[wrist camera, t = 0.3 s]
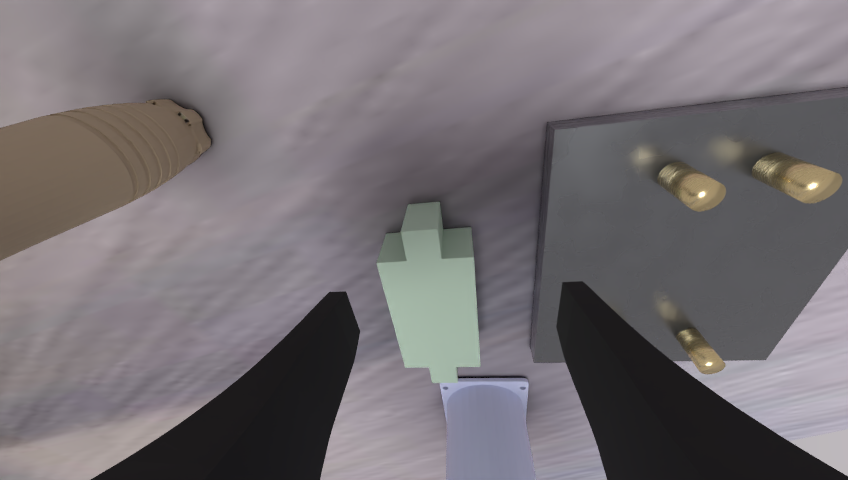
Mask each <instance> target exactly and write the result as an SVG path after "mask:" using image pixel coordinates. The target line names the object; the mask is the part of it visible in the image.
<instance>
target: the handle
mask: <svg viewBox="0 0 848 480" xmlns="http://www.w3.org/2000/svg"><path fill="white" fill-rule="evenodd" d="M202 121H203V120H202V118H201V117H200V116H199V114H198V113H196V112H195V111H194V110H192V109H184V108H182V107H180V106H178V105H177V104H175V103H174V102H173V101H171V100H169V99H158V100H149V101H146V103H123V104H112V105H102V106H94V107H86V108H82V109H75V110H70V111H66V112H60V113H56V114H51V115H47V116H42V117H38V118H34V119H31V120H27V121H24V122H20V123H17V124H13V125H9V126H6V127H2V128H0V260H3V259H5V258H7V257H9V256H11V255H14V254H16V253H18V252H20V251H22V250H24V249H27V248H29V247H31V246H33V245H35V244H38V243H40V242H42V241H44V240H47V239H49V238H51V237H54V236H56V235H58V234H60V233H63V232H65V231H67V230H70V229H72V228H74V227H76V226H79V225H81V224H83V223H86V222H88V221H90V220H92V219H95V218H97V217H99V216H102V215H104V214H106V213H108V212H111V211H113V210H115V209H118V208H120V207H122V206H124V205H126V204H128V203H130V202H132V201H134V200H136V199H138V198H139V197H142V196H144V195H146V194H148V193H149V192H151V191H153V190H155V189H156V188H158V187H159V186H161V185H162V184H164V183H165V182H167V181H168V180H170V179H171V178H173V177H174V176H175V175H177V174H178V173H179V172H181V171H182V170H183V169H184V168H185V167H186V166H187V165H190V164H191V163H193V162H194V161H196V160H197V159H198V158H199V157H200V155H201V153H203V152H205V151H206V150H207V149H208V148H210V145H211V139H210V138H209V137H208V135H207V134H206V132H205V130H204V127H203V123H202Z"/></svg>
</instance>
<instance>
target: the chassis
mask: <svg viewBox="0 0 848 480" xmlns="http://www.w3.org/2000/svg"><path fill="white" fill-rule="evenodd" d="M847 249H848V87H846V88H837V89H829V90H820V91H811V92H803V93H794V94H786V95H777V96H769V97H760V98H751V99H743V100H734V101H726V102H717V103H709V104H700V105H692V106H683V107H674V108H666V109H657V110H649V111H640V112H632V113H623V114H615V115H606V116H597V117H589V118H580V119H572V120H563V121H555V122H547V131H546V144H545V157H544V170H543V183H542V196H541V209H540V222H539V236H538V249H537V262H536V275H535V288H534V301H533V314H532V327H531V340H530V349H531V353H532V357H533V362H534V363H558V362H566V361H565V359H564V355H563V352H562V348H561V344H560V340H559V336H558V332H557V328H556V325H557V317H558V310H559V303H560V296H561V289H562V282H576V281H583V282H584V283H585V284H587V285H588V286H589V287H590V288H591V289H592V290H593V291H594V292H595V293H596V294H597V295H598V296H599V297H600V298H601V299H602V300H603V301H604V302H605V303H606V304H608V305H609V306H610V307H611V308H612V309H613V310H614V311H615V312H616V313H617V314H618V315H619V316H620V317H621V318H623V319H624V320H625V321H626V322H627V323H628V324H629V325H630V326H631V327H633V328H634V329H635V330H636V331H637V332H638V333H639V334H641V335H642V336H643V337H644V338H645V339H646V340H647V341H649V342H650V343H651V344H652V345H653V346H654V347H656V348H657V349H658V350H659V351H661V352H662V353H663V354H664V355H666V356H667V357H668V358H669V359H670V360H672V361H693V363H694V364H695V365H696V367H697V368H698V370H699V371H700V372H701V373H703V374H713V373H717V372H719V371H721V370H723V369H724V368H725V363H724V362H723V361H726V360H766V359H767V357H768V356H769V355H770V353H771V352H772V351H773V349H774V348H775V346H776V345H777V344H778V342H779V341H780V340H781V338H782V337H783V336H784V334H785V333H786V332H787V330H788V329H789V328H790V326H791V325H792V323H793V322H794V321H795V319H796V318H797V317H798V315H799V314H800V313H801V311H802V310H803V309H804V307H805V306H806V305H807V303H808V302H809V300H810V299H811V298H812V296H813V295H814V294H815V292H816V291H817V290H818V288H819V287H820V286H821V284H822V283H823V282H824V280H825V279H826V278H827V276H828V275H829V273H830V272H831V271H832V269H833V268H834V267H835V265H836V264H837V263H838V261H839V260H840V259H841V257H842V256H843V255H844V253H845V252H846V250H847Z"/></svg>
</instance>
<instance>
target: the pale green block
mask: <svg viewBox="0 0 848 480" xmlns="http://www.w3.org/2000/svg"><path fill="white" fill-rule="evenodd" d="M377 267H378V271H379V274H380V278H381V281H382V285H383V289H384V292H385V296H386V300H387V303H388V307H389V310H390V314H391V318H392V321H393V325H394V329H395V332H396V336H397V339H398V343H399V347H400V350H401V354H402V357H403V361H404V365H405V368H422V367H429V370H430V375H431V380H432V383H458V367H480V350H479V334H478V317H477V300H476V284H475V267H474V253H473V242H472V231H471V227H467V228H453V229H443V223H442V215H441V207H440V202H429V203H418V204H408V206H407V210H406V214H405V217H404V221H403V225H402V229H401V232H399V233H386V236H385V239H384V242H383V245H382V248H381V251H380V254H379V257H378V260H377Z"/></svg>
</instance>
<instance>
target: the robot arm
mask: <svg viewBox="0 0 848 480" xmlns="http://www.w3.org/2000/svg"><path fill="white" fill-rule="evenodd" d="M556 328H557V332H558V336H559V340H560V344H561V348H562V352H563V355H564V359H565V361H566V364H567V366H568V369H569V372H570V374H571V377H572V380H573V382H574V385H575V387H576V390H577V392H578V395H579V398H580V400H581V403H582V405H583V408H584V410H585V413H586V416H587V418H588V421H589V423H590V426H591V428H592V431H593V434H594V437H595V440H596V443H597V446H598V449H599V453H600V456H601V459H602V463H603V466H604V470H605V473H606V477H607V480H848V476H846V475H844V474H843V473H841V472H839V471H837V470H836V469H834V468H832V467H831V466H829V465H827V464H825V463H824V462H822V461H820V460H819V459H817V458H815V457H814V456H812V455H810V454H809V453H807V452H805V451H804V450H802V449H800V448H799V447H797V446H795V445H794V444H792V443H791V442H789V441H787V440H786V439H784V438H783V437H781V436H779V435H778V434H776V433H775V432H773V431H772V430H770V429H769V428H767V427H766V426H764V425H762V424H761V423H759V422H758V421H756V420H755V419H753V418H752V417H750V416H749V415H747V414H745V413H744V412H742V411H741V410H739V409H738V408H736V407H735V406H733V405H732V404H731V403H729V402H728V401H726V400H725V399H723V398H722V397H720V396H719V395H718V394H716V393H715V392H713V391H712V390H711V389H709V388H708V387H706V386H705V385H704V384H702V383H701V382H699V381H698V380H697V379H695V378H694V377H693V376H691V375H690V374H688V373H687V372H686V371H685V370H683V369H682V368H681V367H679V366H678V365H677V364H675V363H674V362H673V361H672V360H670V359H669V358H668V357H667V356H666V355H664V354H663V353H662V352H661V351H659V350H658V349H657V348H656V347H654V346H653V345H652V344H651V343H650V342H649V341H647V340H646V339H645V338H644V337H643V336H642V335H641V334H639V333H638V332H637V331H636V330H635V329H634V328H633V327H631V326H630V325H629V324H628V323H627V322H626V321H625V320H624V319H623V318H621V317H620V316H619V315H618V314H617V313H616V312H615V311H614V310H613V309H612V308H611V307H610V306H609V305H608V304H606V303H605V302H604V301H603V300H602V299H601V298H600V297H599V296H598V295H597V294H596V293H595V292H594V291H593V290H592V289H591V288H590V287H589V286H588V285H587V284H585V283H584V282H583V281H576V282H562V289H561V296H560V303H559V310H558V317H557V325H556ZM359 334H360V330H359V327H358V324H357V322H356V319H355V316H354V313H353V310H352V307H351V305H350V302H349V299H348V296H347V293H346V292H329V293H328V294H327V295H326V296H325V297H324V298H323V299H322V300H321V301H320V302H319V303H318V304H317V305H316V306H315V307H314V308H313V309H312V310H311V311H310V312H309V313H308V314H307V315H306V316H305V318H304V319H303V320H302V321H301V322H300V323H299V324H298V325H297V326H296V327H295V328H294V329H293V330H292V331H291V332H290V333H289V334H288V335H287V336H286V337H285V338H284V339H283V340H282V341H281V342H279V343H278V344H277V345H276V346H275V347H274V348H273V349H272V350H271V351H270V352H269V353H268V354H267V355H266V356H264V357H263V358H262V359H261V360H260V361H259V362H258V363H257V364H256V365H255V366H254V367H252V368H251V369H250V370H249V371H248V372H247V373H245V374H244V375H243V376H242V377H241V378H239V379H238V380H237V381H236V382H234V383H233V384H232V385H231V386H230V387H228V388H227V389H226V390H225V391H223V392H222V393H221V394H219V395H218V396H217V397H216V398H214V399H213V400H211V401H210V402H209V403H207V404H206V405H205V406H203V407H202V408H201V409H199V410H198V411H196V412H195V413H194V414H192V415H191V416H190V417H188V418H187V419H186V420H184V421H183V422H181V423H180V424H178V425H177V426H176V427H174V428H173V429H171V430H170V431H168V432H167V433H165V434H164V435H162V436H161V437H159V438H158V439H156V440H155V441H153V442H151V443H150V444H148V445H147V446H145V447H144V448H142V449H141V450H139V451H137V452H136V453H134V454H133V455H131V456H129V457H128V458H126V459H125V460H123V461H121V462H120V463H118V464H116V465H115V466H113V467H111V468H110V469H108V470H106V471H105V472H103V473H101V474H99V475H98V476H96V477H94V478H93V479H91V480H320V477H321V472H322V468H323V463H324V459H325V455H326V450H327V446H328V442H329V438H330V434H331V431H332V427H333V424H334V421H335V418H336V415H337V412H338V409H339V406H340V403H341V400H342V397H343V394H344V391H345V388H346V385H347V382H348V378H349V375H350V372H351V369H352V366H353V363H354V360H355V355H356V350H357V345H358V340H359ZM528 387H529V383H528V380H527V379H525V378H458V383H440V389H441V395H442V400H443V405H444V411H445V416H446V421H447V454H446V480H536V474H535V469H534V464H533V458H532V453H531V447H530V442H529V436H528V431H527V425H526V412H527V400H528Z"/></svg>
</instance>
